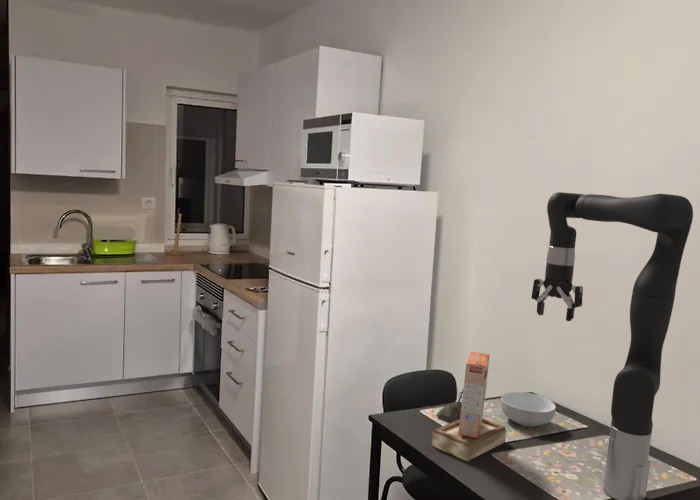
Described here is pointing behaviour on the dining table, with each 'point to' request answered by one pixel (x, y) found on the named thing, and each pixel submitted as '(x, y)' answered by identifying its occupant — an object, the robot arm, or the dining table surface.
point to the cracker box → (473, 394)
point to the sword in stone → (451, 411)
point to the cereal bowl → (527, 408)
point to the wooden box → (468, 439)
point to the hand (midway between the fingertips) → (554, 317)
